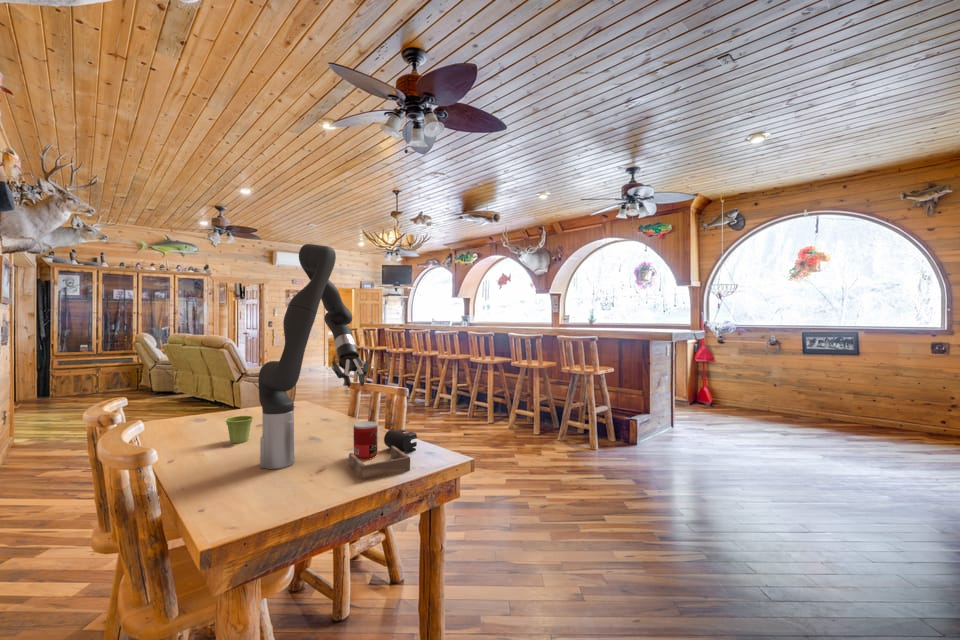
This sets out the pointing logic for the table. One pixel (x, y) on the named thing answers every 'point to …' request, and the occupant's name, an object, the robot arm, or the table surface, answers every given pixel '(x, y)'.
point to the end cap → (401, 440)
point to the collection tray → (381, 465)
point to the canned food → (365, 439)
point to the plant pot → (239, 428)
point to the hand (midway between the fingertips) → (355, 385)
